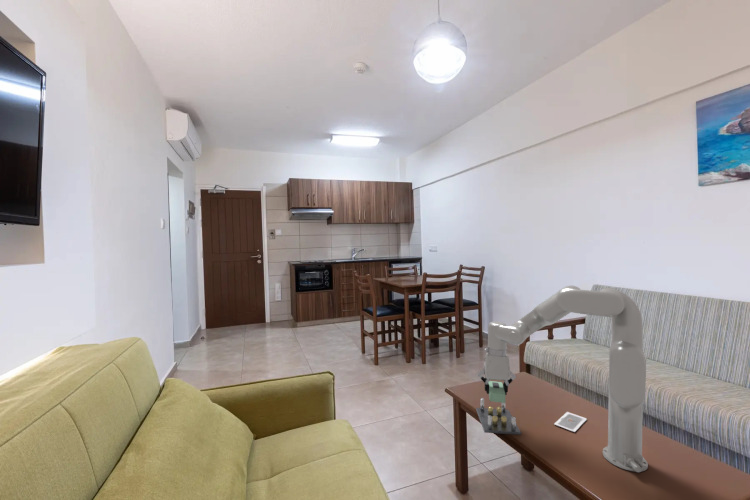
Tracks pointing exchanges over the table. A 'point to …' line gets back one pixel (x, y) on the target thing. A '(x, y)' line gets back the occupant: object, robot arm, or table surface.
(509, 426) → the chassis
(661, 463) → the table surface
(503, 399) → the green block
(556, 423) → the touchpad
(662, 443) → the table surface
